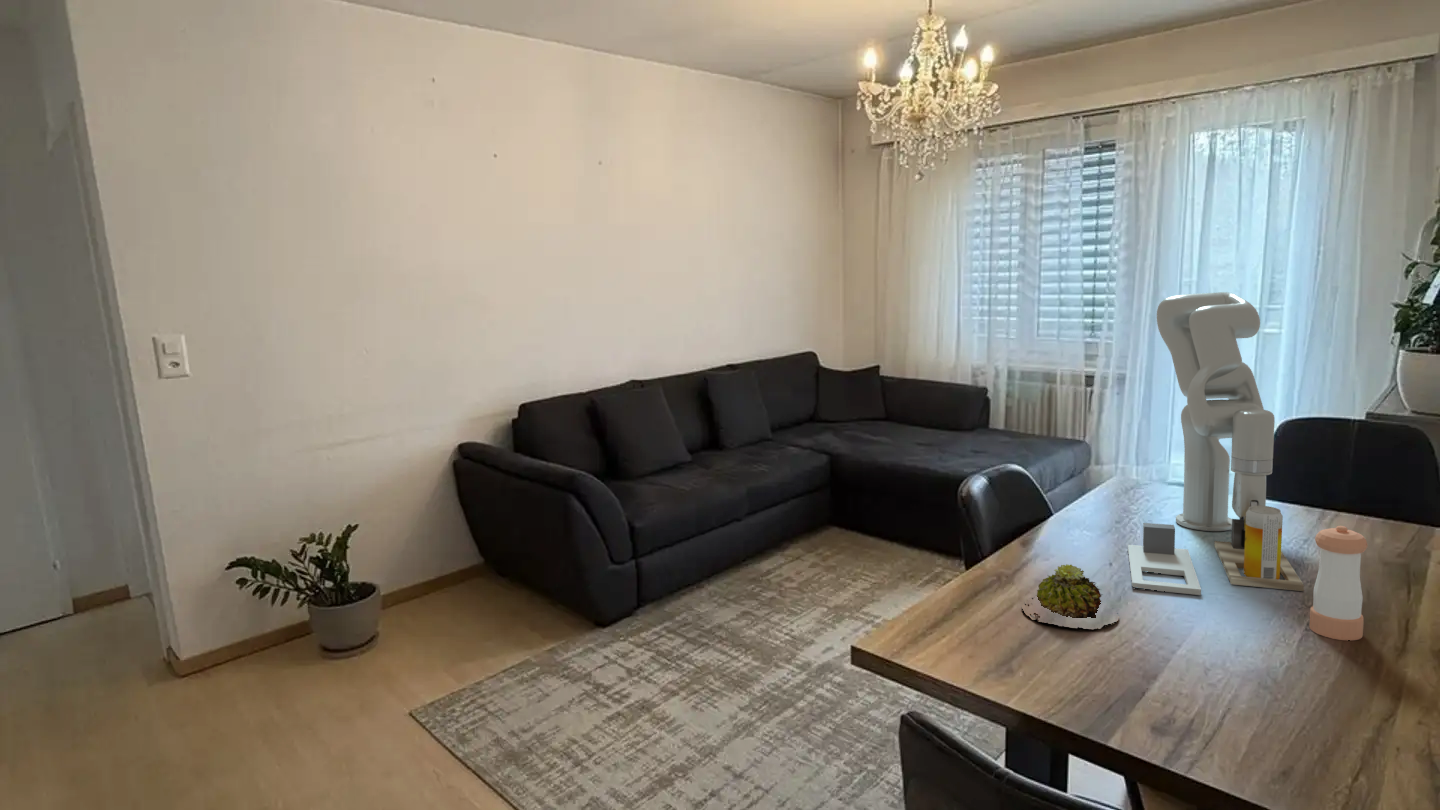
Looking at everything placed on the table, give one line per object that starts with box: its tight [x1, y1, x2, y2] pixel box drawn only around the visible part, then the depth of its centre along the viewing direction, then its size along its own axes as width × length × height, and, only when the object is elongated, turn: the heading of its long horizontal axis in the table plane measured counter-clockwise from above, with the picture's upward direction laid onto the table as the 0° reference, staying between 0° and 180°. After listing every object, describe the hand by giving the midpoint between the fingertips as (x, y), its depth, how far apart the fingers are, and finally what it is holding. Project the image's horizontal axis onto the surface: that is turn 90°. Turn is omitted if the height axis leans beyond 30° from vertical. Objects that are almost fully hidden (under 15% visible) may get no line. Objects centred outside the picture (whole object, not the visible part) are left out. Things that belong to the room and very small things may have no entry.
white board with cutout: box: [1127, 522, 1202, 596], centre depth 163 cm, size 24×12×7 cm, turn 154°
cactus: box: [1036, 563, 1115, 626], centre depth 145 cm, size 17×16×10 cm
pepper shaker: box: [1308, 525, 1369, 641], centre depth 131 cm, size 7×7×19 cm
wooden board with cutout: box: [1214, 518, 1305, 592], centre depth 161 cm, size 24×12×7 cm, turn 154°
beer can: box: [1243, 505, 1284, 580], centre depth 155 cm, size 6×6×15 cm
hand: (1248, 544), depth 169 cm, fingers closed on wooden board with cutout, 3 cm apart
